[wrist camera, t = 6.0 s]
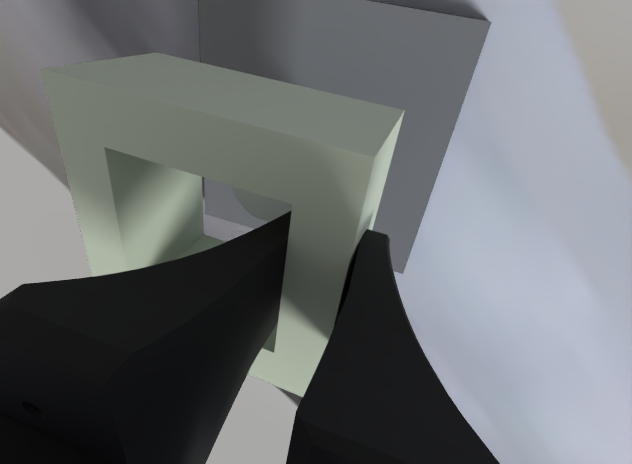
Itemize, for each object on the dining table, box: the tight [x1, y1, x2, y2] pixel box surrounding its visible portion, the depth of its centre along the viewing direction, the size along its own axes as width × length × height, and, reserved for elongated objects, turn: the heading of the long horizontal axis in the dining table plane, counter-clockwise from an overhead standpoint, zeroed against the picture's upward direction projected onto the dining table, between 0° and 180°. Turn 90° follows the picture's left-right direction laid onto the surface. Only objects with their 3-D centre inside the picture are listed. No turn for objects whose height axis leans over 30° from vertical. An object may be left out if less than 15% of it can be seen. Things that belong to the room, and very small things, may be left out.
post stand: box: [198, 0, 491, 274], centre depth 16 cm, size 12×12×6 cm
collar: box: [40, 53, 405, 397], centre depth 12 cm, size 8×8×4 cm
